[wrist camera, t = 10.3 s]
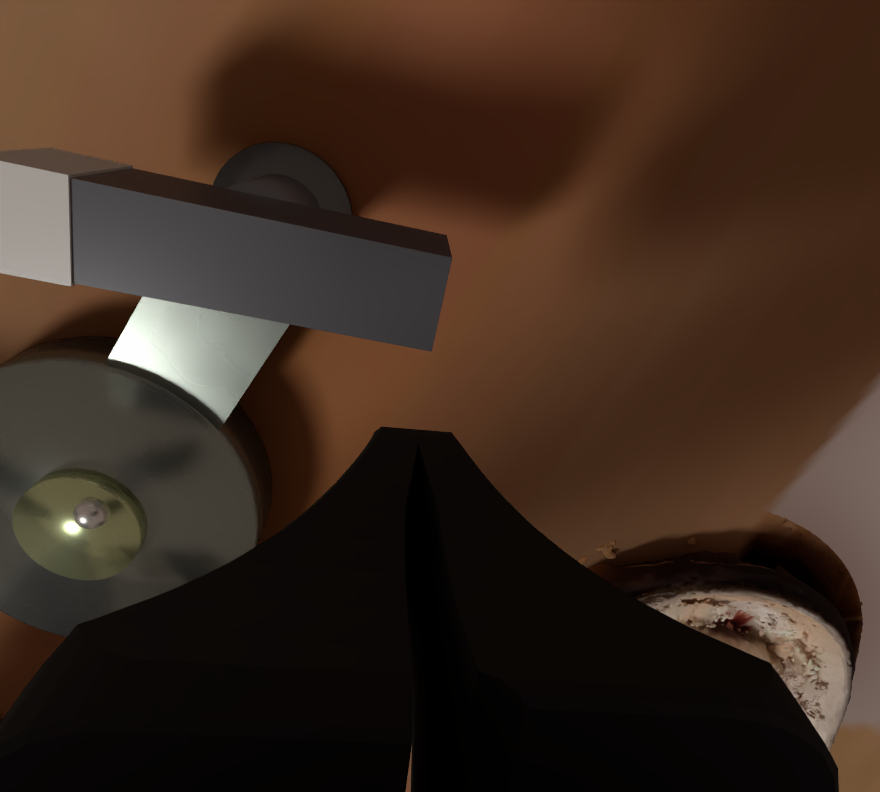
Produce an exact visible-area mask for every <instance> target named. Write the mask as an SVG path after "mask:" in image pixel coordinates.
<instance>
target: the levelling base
mask: <svg viewBox="0 0 880 792" xmlns="http://www.w3.org/2000/svg"><path fill="white" fill-rule="evenodd" d="M268 174H280V175H285V176H289V177H291V178H294V179H296V180H297V181H299V182H301V183H302V184H303V185H305V186H306V187H307V188H308V189H309V190H310V191H311V193H312V194H313V195H314V197H315V198H316V200H317V202H318V204H319V206H320V208H321V209H326V210H331V211H335V212H340V213H345V214H349V215H353V214H352V207H351V203H350V199H349V196H348V194H347V191H346V189H345V187H344V185H343V183H342V181H341V180H340V178H339V177H338V175H337V174H336V173H335V171H334V170H333V169H332V168H331V167H330V166H329V165H328V164H327V163H326V162H325V161H324V160H322V159H321V158H320V157H318V156H317V155H315V154H314V153H312V152H310V151H308V150H306V149H304V148H302V147H299V146H296V145H293V144H287V143H278V142H271V143H262V144H258V145H254V146H251V147H249V148H246V149H244V150H242V151H240V152H239V153H237V154H236V155H234V156H233V157H232V158H231V159H229V160H228V162H227V163H226V164H225V165H224V166H223V167H222V169H221V170H220V172H219V173H218V175H217V177H216V179H215V181H214V183H213V186H218V187H222V188H228V187H230V186H233V185H236V184H239V183H242V182H245V181H248V180H251V179H254V178H257V177H260V176H263V175H268ZM289 325H290V324H285V323H280V322H274V321H269V320H264V319H259V318H253V317H248V316H243V315H238V314H232V313H227V312H222V311H217V310H211V309H206V308H201V307H196V306H190V305H185V304H180V303H175V302H169V301H164V300H159V299H154V298H148V297H143V296H142V298H141V300H140V302H139V303H138V305H137V307H136V309H135V311H134V312H133V314H132V316H131V318H130V320H129V321H128V323H127V325H126V327H125V328H124V330H123V332H122V334H121V336H120V337H119V339H116V338H110V337H88V336H85V337H74V338H64V339H59V340H55V341H51V342H46V343H43V344H40V345H38V346H35V347H32V348H30V349H27V350H25V351H23V352H22V353H20V354H18V355H16V356H14V357H13V358H11V359H9V360H7V361H6V362H4V363H2V364H1V365H0V610H1V611H2V612H4V613H6V614H8V615H10V616H12V617H14V618H16V619H18V620H20V621H22V622H24V623H26V624H29V625H31V626H34V627H36V628H39V629H41V630H44V631H47V632H51V633H54V634H58V635H61V636H65V637H67V636H68V635H69V634H70V632H71V631H72V630H73V629H74V627H75V626H76V625H77V624H80V623H83V622H86V621H89V620H92V619H95V618H98V617H101V616H103V615H106V614H109V613H112V612H114V611H117V610H120V609H122V608H125V607H128V606H131V605H133V604H136V603H139V602H141V601H144V600H147V599H150V598H152V597H155V596H158V595H160V594H162V593H165V592H167V591H170V590H172V589H174V588H177V587H179V586H181V585H183V584H185V583H188V582H190V581H192V580H194V579H196V578H199V577H201V576H203V575H205V574H207V573H209V572H211V571H213V570H215V569H217V568H219V567H221V566H223V565H225V564H227V563H229V562H231V561H232V560H234V559H236V558H238V557H239V556H241V555H243V554H244V553H246V552H248V551H249V550H251V549H253V548H254V547H256V546H257V544H258V542H259V539H260V536H261V534H262V531H263V529H264V526H265V523H266V521H267V518H268V514H269V510H270V506H271V496H272V480H271V470H270V466H269V461H268V457H267V454H266V451H265V448H264V446H263V443H262V441H261V438H260V436H259V435H258V433H257V431H256V429H255V427H254V425H253V424H252V422H251V420H250V419H249V418H248V416H247V415H246V414H245V412H244V411H243V409H242V408H241V407H240V405H239V404H238V401H239V400H240V398H241V397H242V395H243V394H244V392H245V391H246V389H247V388H248V386H249V385H250V383H251V382H252V380H253V379H254V377H255V376H256V374H257V373H258V371H259V370H260V368H261V367H262V365H263V364H264V362H265V361H266V359H267V358H268V356H269V355H270V353H271V352H272V350H273V349H274V347H275V346H276V344H277V343H278V341H279V340H280V338H281V337H282V335H283V334H284V332H285V331H286V329H287V328H288V326H289Z"/></svg>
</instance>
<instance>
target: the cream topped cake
mask: <svg viewBox="0 0 880 792" xmlns="http://www.w3.org/2000/svg"><path fill="white" fill-rule="evenodd" d="M695 542H696V541H695V537H693V538H690V539H688V541H687V544H690V545H694V544H695ZM615 543H616V541H615V540H613V541H611V542H610V543H608V544H605V543H603V545H602V546H600V547H598V548H597V549H596V550H597V551H602V553H603V554H604V556H605V557H606V558H608V559H615V558H616V554H615V553H613V552H612V551H611V550H612V549H613V546H615V545H616V544H615ZM611 544H612V545H613V546H612V545H611ZM608 546H610V547H608ZM586 558H587V557H586V556H585V557H583V558H581V559H580V560H578V562H579V563H581V564H582V565H583V564H584V563H585V562H586ZM589 570H591V571H592V572H594V573H596V574H597V575H599V576H600V577H602V578H603V579H605V580H606V581H608V582H609V583H611V584H612V585H614V586H615V587H617V588H619V589H620V590H622V591H624V592H625V593H627V594H629V595H631V596H632V597H634V598H636V599H637V600H639V601H641V602H643V603H644V604H646V605H648V606H650V607H652V608H654V609H656V610H658V611H660V612H661V613H663V614H665V615H667V616H669V617H671V618H673V619H675V620H676V621H678V622H680V623H682V624H684V625H686V626H688V627H690V628H692V629H695V630H697V631H699V632H701V633H704V634H706V635H708V636H710V637H713V638H715V639H717V640H719V641H722V642H724V643H726V644H728V645H731V646H733V647H735V648H738V649H740V650H742V651H744V652H747V653H749V654H751V655H753V656H756V657H758V658H760V659H762V660H765V661H767V662H769V663H771V665H772V666H773V667H774V669H775V670H776V671H777V673H778V674H779V675H780V677H781V678H782V680H783V681H784V683H785V684H786V685H787V687H788V688H789V690H790V691H791V693H792V694H793V696H794V697H795V699H796V700H797V702H798V703H799V705H800V706H801V708H802V709H803V711H804V712H805V714H806V715H807V717H808V718H809V720H810V721H811V723H812V724H813V726H814V727H815V729H816V731H817V732H818V734H819V735H820V737H821V738H822V740H823V741H824V743H825V744H826V746H827V748H828V750H829V751H830V748H831V745H832V744H833V743H834V739H835V736H836V734H837V732H838V729H839V727H840V724H841V722H842V720H843V717H844V715H845V711H846V709H847V705H848V703H849V701H850V694H851V688H852V680H853V676H854V671H855V663H856V659H857V656H858V653H859V645H860V640H861V633H862V626H863V618H862V610H861V606H862V602H860V598H859V595H858V591H857V588H856V585H855V583H854V581H853V578H852V577H851V575H850V573H849V571H848V569H847V568H846V566H845V565H844V563H843V562H842V560H841V559H840V558H839V557H838V556H837V554H836V553H835V552H834V551H833V550H832V549H831V548H830V547H829V546H828V545H827V544H826V543H824V542H823V541H822V540H821V539H820V538H818V537H817V536H816V535H814V534H813V533H811V532H810V531H809V530H807V529H805V528H804V527H802V526H800V525H798V524H796V523H794V522H792V521H790V520H788V519H787V518H783V517H780V516H778V515H775V514H772V513H769V514H768V515H767V516H766V517H765V518H764V519H763V521H762V522H761V523H760V524H759V525H758V527H757V528H756V530H755V532H754V533H753V535H752V536H751V538H750V539H749V540H748V542H747V543H746V544H745V546H744V547H743V548H742V550H741V552H740V554H739V556H738V557H737V556H736V554H731V553H725V552H724V553H718V554H716V553H711V552H708V551H701V552H696V553H689V554H686V555H684V556H682V557H681V558H679V559H675V558H672V559H665V560H660V561H656V562H643V563H637V564H632V565H625V566H623V567H615V566H611V565H610V564H609V563H602V564H598V565H595V566H592V567H590V568H589Z"/></svg>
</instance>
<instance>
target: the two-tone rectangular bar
mask: <svg viewBox="0 0 880 792" xmlns="http://www.w3.org/2000/svg"><path fill="white" fill-rule="evenodd" d="M451 261H452V255H451V251H450V247H449V243H448V239H447V235H443V234H439V233H434V232H429V231H425V230H420V229H415V228H410V227H406V226H401V225H396V224H392V223H387V222H382V221H378V220H373V219H368V218H363V217H359V216H354V215H349V214H345V213H340V212H335V211H331V210H326V209H321V208H320V206H319V204H318V202H317V200H316V198H315V197H314V195H313V194H312V193H311V191H310V190H309V189H308V188H307V187H306V186H305V185H303V184H302V183H301V182H299V181H297V180H296V179H294V178H291V177H289V176H285V175H280V174H268V175H263V176H260V177H257V178H254V179H251V180H248V181H245V182H242V183H239V184H236V185H233V186H230V187H228V188H222V187H218V186H213V185H208V184H204V183H199V182H194V181H189V180H185V179H180V178H175V177H171V176H166V175H161V174H157V173H152V172H147V171H142V170H138V169H133V165H128V164H124V163H119V162H114V161H110V160H105V159H100V158H95V157H91V156H86V155H81V154H77V153H72V152H67V151H63V150H58V149H53V148H38V149H23V150H8V151H0V273H3V274H8V275H13V276H19V277H24V278H29V279H35V280H40V281H45V282H50V283H56V284H61V285H66V286H73V285H75V284H80V285H85V286H91V287H96V288H101V289H106V290H112V291H117V292H122V293H127V294H133V295H138V296H143V297H148V298H154V299H159V300H164V301H169V302H175V303H180V304H185V305H190V306H196V307H201V308H206V309H211V310H217V311H222V312H227V313H232V314H238V315H243V316H248V317H253V318H259V319H264V320H269V321H274V322H280V323H285V324H290V325H295V326H301V327H306V328H311V329H316V330H322V331H327V332H332V333H337V334H343V335H348V336H353V337H358V338H364V339H369V340H374V341H379V342H385V343H390V344H395V345H400V346H406V347H411V348H416V349H421V350H427V351H432V347H433V343H434V338H435V333H436V329H437V324H438V320H439V315H440V311H441V306H442V302H443V297H444V292H445V288H446V283H447V279H448V274H449V270H450V265H451Z"/></svg>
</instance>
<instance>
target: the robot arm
mask: <svg viewBox="0 0 880 792" xmlns="http://www.w3.org/2000/svg"><path fill="white" fill-rule="evenodd" d="M411 746H412V765H411V792H839V785H838V768H837V766H836V764H835V762H834V760H833V758H832V756H831V754H830V752H829V750H828V748H827V746H826V744H825V743H824V741H823V740H822V738H821V737H820V735H819V734H818V732H817V731H816V729H815V727H814V726H813V724H812V723H811V721H810V720H809V718H808V717H807V715H806V714H805V712H804V711H803V709H802V708H801V706H800V705H799V703H798V702H797V700H796V699H795V697H794V696H793V694H792V693H791V691H790V690H789V688H788V687H787V685H786V684H785V683H784V681H783V680H782V678H781V677H780V675H779V674H778V673H777V671H776V670H775V669H774V667H773V666H772V665H771V663H769V662H767V661H765V660H762V659H760V658H758V657H756V656H753V655H751V654H749V653H747V652H744V651H742V650H740V649H738V648H735V647H733V646H731V645H728V644H726V643H724V642H722V641H719V640H717V639H715V638H713V637H710V636H708V635H706V634H704V633H701V632H699V631H697V630H695V629H692V628H690V627H688V626H686V625H684V624H682V623H680V622H678V621H676V620H675V619H673V618H671V617H669V616H667V615H665V614H663V613H661V612H660V611H658V610H656V609H654V608H652V607H650V606H648V605H646V604H644V603H643V602H641V601H639V600H637V599H636V598H634V597H632V596H631V595H629V594H627V593H625V592H624V591H622V590H620V589H619V588H617V587H615V586H614V585H612V584H611V583H609V582H608V581H606V580H605V579H603V578H602V577H600V576H599V575H597V574H596V573H594V572H592V571H591V570H589V569H588V568H586V567H585V566H583V565H582V564H581V563H579V562H578V561H576V560H575V559H574V558H572V557H571V556H569V555H568V554H567V553H565V552H564V551H563V550H562V549H560V548H559V547H558V546H557V545H555V544H554V543H553V542H552V541H550V540H549V539H548V538H547V537H546V536H544V535H543V534H542V533H541V532H539V531H538V530H537V529H536V528H535V527H534V526H533V525H531V524H530V523H529V522H528V521H527V520H526V519H525V518H524V517H523V516H522V515H521V514H520V513H519V512H518V511H517V510H516V509H515V508H514V507H513V506H512V505H511V504H510V503H509V502H508V501H507V500H506V499H505V498H504V497H503V496H502V495H501V494H500V493H499V492H498V491H497V490H496V488H495V487H494V486H493V485H492V484H491V483H490V481H489V480H488V479H487V478H486V477H485V476H484V474H483V473H482V472H481V471H480V469H479V468H478V467H477V466H476V464H475V463H474V462H473V460H472V459H471V458H470V456H469V455H468V454H467V452H466V451H465V450H464V448H463V447H462V446H461V444H460V443H459V442H458V440H457V439H456V438H455V436H454V435H453V434H452V433H451V432H439V431H427V430H415V429H403V428H392V427H381V428H379V429H378V430H377V431H375V432H374V434H373V436H372V438H371V440H370V441H369V443H368V444H367V446H366V447H365V449H364V450H363V451H362V453H361V454H360V455H359V457H358V458H357V459H356V460H355V462H354V463H353V464H352V465H351V466H350V467H349V468H348V470H347V471H346V472H345V473H344V474H343V475H342V477H341V478H340V479H339V480H338V481H337V482H336V483H335V484H334V485H333V486H332V487H331V488H330V489H329V490H328V491H327V492H326V493H325V494H324V495H323V496H322V497H321V498H319V499H318V500H317V501H316V502H315V503H314V504H313V505H312V506H311V507H310V508H309V509H307V510H306V511H305V512H304V513H303V514H302V515H300V516H299V517H298V518H297V519H295V520H294V521H293V522H291V523H290V524H289V525H287V526H286V527H285V528H284V529H282V530H281V531H280V532H278V533H277V534H275V535H274V536H272V537H271V538H269V539H267V540H266V541H264V542H262V543H261V544H259V545H258V546H256V547H254V548H253V549H251V550H249V551H248V552H246V553H244V554H243V555H241V556H239V557H238V558H236V559H234V560H232V561H231V562H229V563H227V564H225V565H223V566H221V567H219V568H217V569H215V570H213V571H211V572H209V573H207V574H205V575H203V576H201V577H199V578H196V579H194V580H192V581H190V582H188V583H185V584H183V585H181V586H179V587H177V588H174V589H172V590H170V591H167V592H165V593H162V594H160V595H158V596H155V597H152V598H150V599H147V600H144V601H141V602H139V603H136V604H133V605H131V606H128V607H125V608H122V609H120V610H117V611H114V612H112V613H109V614H106V615H103V616H101V617H98V618H95V619H92V620H89V621H86V622H83V623H80V624H77V625H76V626H75V627H74V629H73V630H72V631H71V632H70V634H69V635H68V636H67V638H66V639H65V640H64V641H63V642H62V643H61V644H60V646H59V647H58V648H57V649H56V650H55V651H54V652H53V654H52V655H51V656H50V657H49V658H48V659H47V660H46V661H45V663H44V664H43V665H42V666H41V668H40V669H39V670H38V672H37V673H36V674H35V675H34V677H33V678H32V679H31V681H30V682H29V683H28V685H27V686H26V687H25V688H24V690H23V691H22V693H21V694H20V696H19V697H18V698H17V700H16V701H15V703H14V704H13V706H12V707H11V708H10V710H9V711H8V713H7V714H6V716H5V717H4V719H3V720H2V721H1V723H0V792H405V790H406V783H407V775H408V768H409V761H410V753H411Z"/></svg>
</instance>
